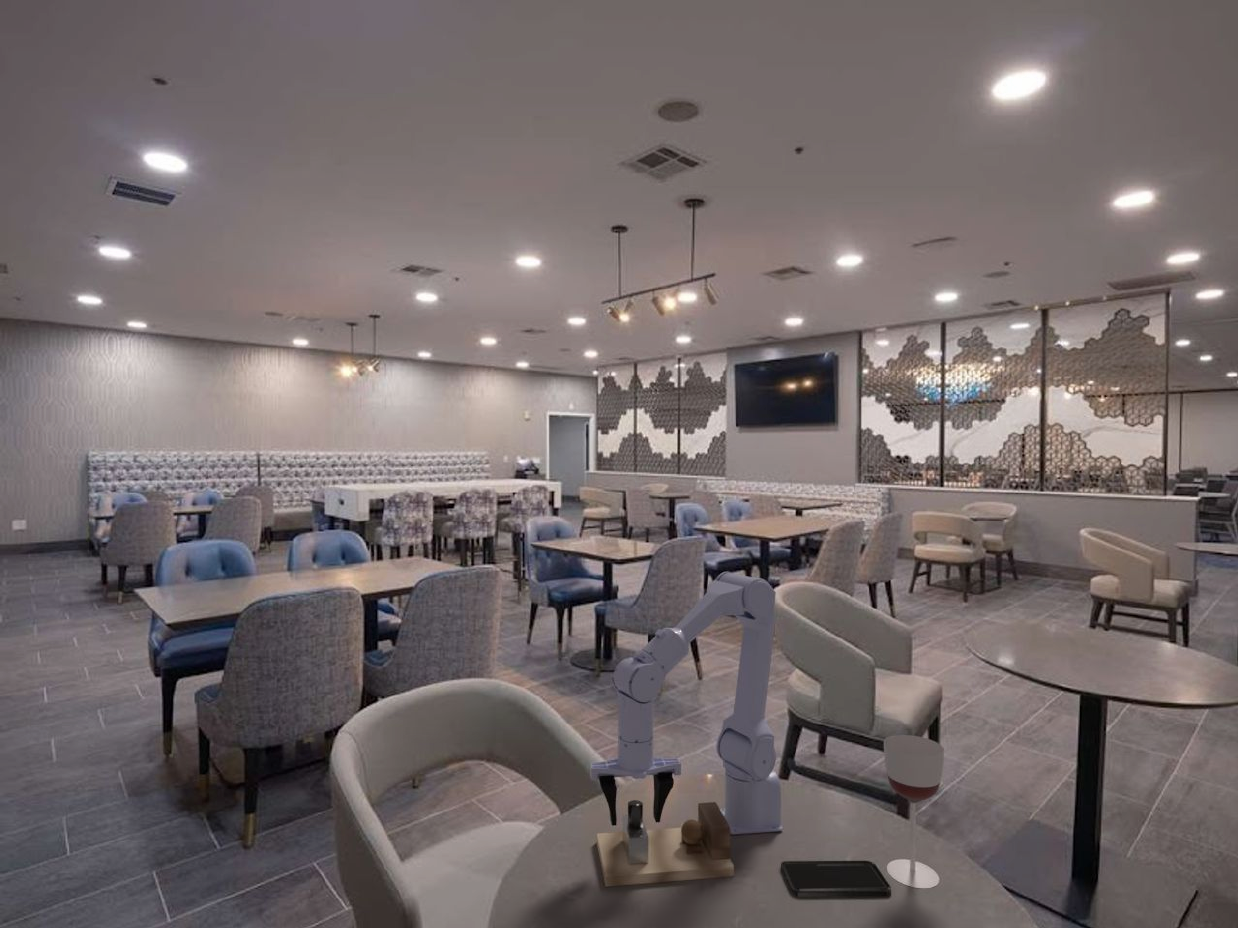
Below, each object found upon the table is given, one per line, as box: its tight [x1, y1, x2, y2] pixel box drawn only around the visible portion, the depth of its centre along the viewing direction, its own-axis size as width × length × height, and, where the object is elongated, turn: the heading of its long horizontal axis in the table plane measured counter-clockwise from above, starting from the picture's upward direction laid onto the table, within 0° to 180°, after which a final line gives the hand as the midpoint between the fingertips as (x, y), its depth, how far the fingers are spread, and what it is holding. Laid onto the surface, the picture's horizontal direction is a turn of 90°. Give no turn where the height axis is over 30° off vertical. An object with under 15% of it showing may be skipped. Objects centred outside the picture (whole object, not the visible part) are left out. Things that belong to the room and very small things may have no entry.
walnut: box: [680, 819, 703, 845], centre depth 109 cm, size 4×4×4 cm
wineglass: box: [883, 734, 945, 889], centre depth 105 cm, size 8×9×20 cm
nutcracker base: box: [596, 801, 735, 888], centre depth 108 cm, size 20×12×6 cm, turn 98°
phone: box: [780, 860, 892, 898], centre depth 103 cm, size 8×1×15 cm
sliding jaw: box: [622, 799, 649, 864], centre depth 107 cm, size 3×7×8 cm, turn 8°
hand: (635, 820), depth 107 cm, fingers open, 6 cm apart
